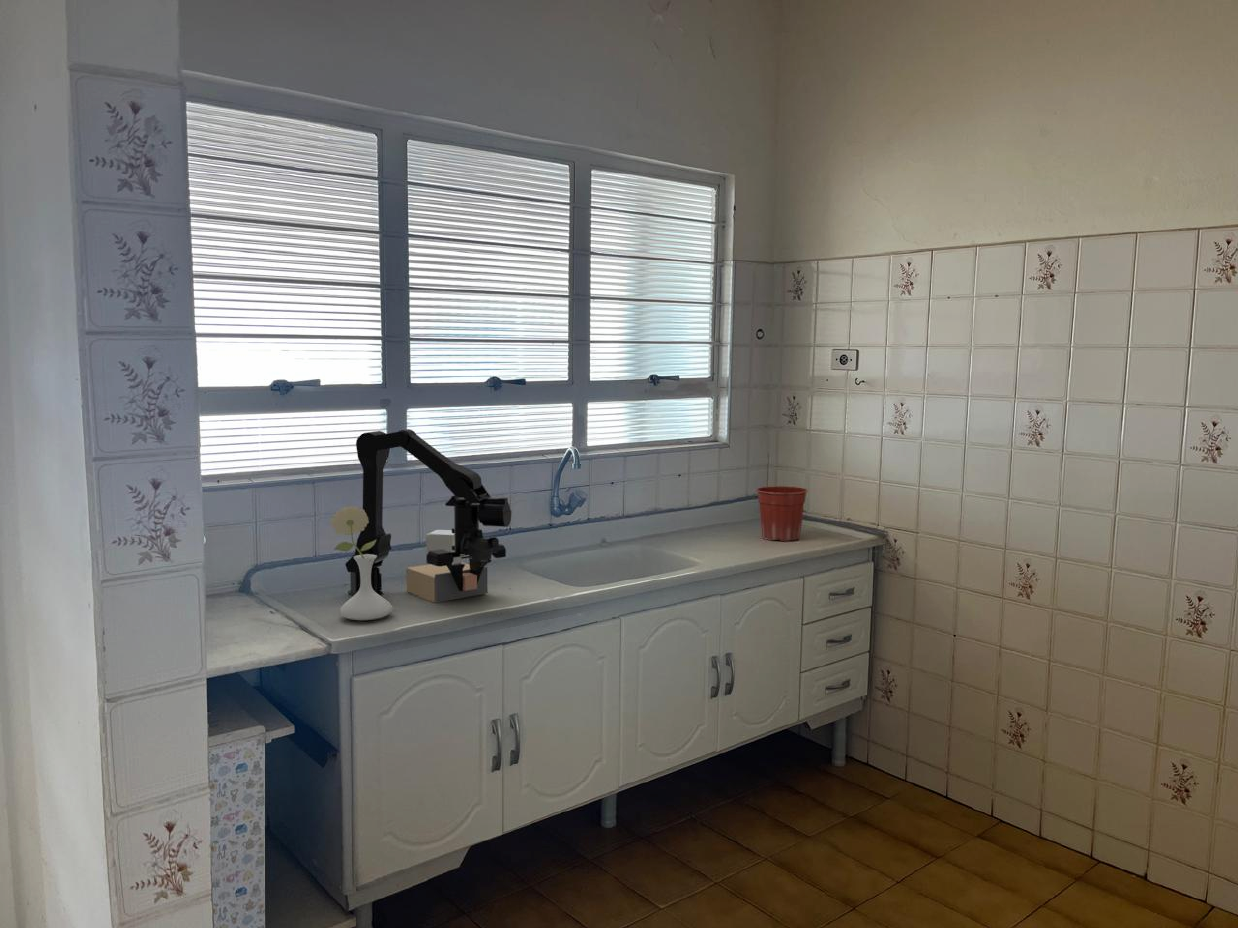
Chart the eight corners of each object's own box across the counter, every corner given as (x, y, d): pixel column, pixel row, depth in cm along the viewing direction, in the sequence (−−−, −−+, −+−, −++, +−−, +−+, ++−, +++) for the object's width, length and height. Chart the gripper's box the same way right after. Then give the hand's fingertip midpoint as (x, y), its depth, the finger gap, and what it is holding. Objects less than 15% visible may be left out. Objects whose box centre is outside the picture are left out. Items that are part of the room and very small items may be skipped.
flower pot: (751, 541, 308) (752, 491, 306) (759, 532, 323) (760, 485, 322) (803, 544, 303) (804, 493, 301) (808, 535, 318) (810, 487, 317)
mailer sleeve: (434, 602, 227) (434, 577, 226) (406, 591, 238) (406, 567, 237) (485, 593, 236) (485, 569, 235) (456, 583, 247) (456, 560, 246)
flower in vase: (397, 610, 219) (395, 502, 217) (387, 624, 208) (384, 510, 205) (339, 611, 219) (336, 502, 216) (326, 624, 208) (323, 510, 205)
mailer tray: (445, 604, 223) (444, 577, 223) (406, 590, 238) (406, 564, 237) (496, 595, 232) (496, 569, 232) (456, 582, 247) (456, 557, 246)
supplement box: (452, 583, 247) (452, 534, 246) (425, 582, 248) (424, 533, 247) (463, 577, 254) (462, 530, 253) (436, 575, 256) (436, 528, 254)
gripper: (449, 534, 215) (450, 602, 217) (518, 525, 227) (519, 590, 229) (424, 527, 224) (425, 593, 225) (493, 519, 236) (493, 582, 237)
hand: (467, 589), depth 229 cm, fingers closed on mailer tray, 3 cm apart
